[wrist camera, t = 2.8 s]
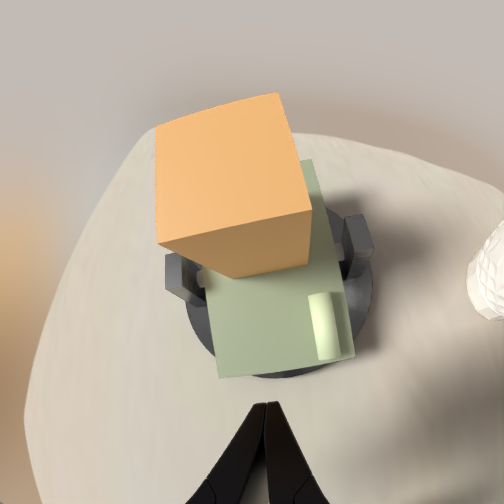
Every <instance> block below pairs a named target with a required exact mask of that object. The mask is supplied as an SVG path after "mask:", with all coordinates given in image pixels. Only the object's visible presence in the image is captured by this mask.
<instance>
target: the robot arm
mask: <svg viewBox="0 0 504 504" xmlns="http://www.w3.org/2000/svg"><path fill="white" fill-rule="evenodd" d="M206 478H207V479H205V480H204V481H203V483H202V484H201V485H200V487H199V488H198V489H197V491H196V492H195V493H194V494H193V496H192V497H191V498H190V499H189V500H188V501H187V502H186V503H185V504H268V503H269V504H330V503H329V502H328V500H327V499H326V497H325V496H324V495H323V493H322V491H321V489H320V487H319V486H318V484H317V482H316V480H315V478H314V476H313V475H312V472H311V470H310V468H309V466H308V464H307V462H306V460H305V457H304V455H303V453H302V451H301V449H300V447H299V445H298V443H297V441H296V438H295V436H294V434H293V432H292V430H291V428H290V426H289V423H288V421H287V419H286V417H285V415H284V412H283V410H282V408H281V406H280V404H279V402H278V401H274V402H268V403H267V404H266V403H256V404H254V405H253V407H252V408H251V410H250V412H249V413H248V415H247V416H246V418H245V420H244V421H243V423H242V425H241V426H240V428H239V429H238V431H237V433H236V434H235V436H234V437H233V439H232V440H231V442H230V443H229V445H228V446H227V448H226V449H225V451H224V452H223V454H222V455H221V457H220V458H219V460H218V461H217V463H216V464H215V466H214V467H213V469H212V470H211V472H210V473H209V474H208V476H207V477H206ZM0 504H3V503H1V502H0Z"/></svg>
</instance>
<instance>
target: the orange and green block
mask: <svg viewBox="0 0 504 504" xmlns="http://www.w3.org/2000/svg"><path fill="white" fill-rule="evenodd" d="M155 208H156V231H157V244H159V245H161V246H163V247H165V248H167V249H169V250H171V251H173V252H175V253H177V254H180V255H182V256H184V257H186V258H188V259H190V260H192V261H194V262H196V263H199V264H201V265H202V270H201V271H198V272H197V282H198V285H199V287H200V288H203V287H205V292H206V300H207V307H208V313H209V320H210V327H211V333H212V339H213V345H214V351H215V357H216V363H217V369H218V374H219V378H228V377H239V376H249V375H257V374H265V373H273V372H280V371H286V370H293V369H299V368H305V367H310V366H316V365H321V364H326V363H331V362H335V361H340V360H344V359H349V358H353V357H355V351H354V344H353V338H352V331H351V325H350V319H349V313H348V308H347V302H346V297H345V292H344V286H343V281H342V277H341V272H340V267H339V262H338V261H343V260H344V251H343V247H342V244H341V243H337V244H334V240H333V236H332V232H331V228H330V224H329V220H328V216H327V212H326V208H325V205H324V201H323V197H322V194H321V190H320V186H319V183H318V179H317V176H316V173H315V169H314V166H313V163H312V159H309V160H303V161H299V158H298V154H297V151H296V148H295V144H294V141H293V138H292V134H291V131H290V128H289V125H288V121H287V118H286V115H285V112H284V109H283V106H282V103H281V100H280V97H279V94H278V92H275V93H270V94H265V95H261V96H257V97H252V98H248V99H243V100H239V101H235V102H231V103H227V104H224V105H220V106H217V107H213V108H210V109H207V110H203V111H200V112H196V113H193V114H190V115H187V116H184V117H181V118H178V119H175V120H172V121H170V122H167V123H164V124H161V125H159V126H156V136H155Z"/></svg>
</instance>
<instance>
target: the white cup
mask: <svg viewBox="0 0 504 504" xmlns="http://www.w3.org/2000/svg"><path fill="white" fill-rule="evenodd" d="M466 284H467V289H468V295H469V298H470V300H471V302H472V304H473V306H474V307H475V309H476V311H477V312H478V313H479V314H481V315H482V316H483V317H485V318H486V319H487V320H502V319H504V219H503V221H502V222H501V223H500V224H499V226H498V227H497V228H496V229H495V231H494V232H493V233H492V235H491V236H490V237H489V238H488V239H487V240H486V242H485V243H484V245H483V246H482V247H481V248H480V249H479V250H478V252H477V253H476V254H475V255H474V257H473V258H472V260H471V262H470V263H469V265H468V269H467V277H466Z"/></svg>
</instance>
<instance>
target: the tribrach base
mask: <svg viewBox="0 0 504 504" xmlns="http://www.w3.org/2000/svg"><path fill="white" fill-rule="evenodd" d="M326 212H327V216H328V220H329V224H330V228H331V232H332V236H333V240H334V244H337V243H341V244H342V247H343V251H344V260H343V261H338V262H339V267H340V272H341V277H342V281H343V286H344V292H345V297H346V302H347V308H348V313H349V319H350V325H351V331H352V338H353V339H354V338H355V336H356V335H357V334H358V332H359V330H360V328H361V327H362V325H363V323H364V321H365V318H366V316H367V313H368V310H369V306H370V302H371V297H372V271H371V266H370V262H369V259H370V257H371V254H372V252H373V250H374V246H373V243H372V240H371V237H370V234H369V231H368V228H367V225H366V222H365V219H364V217H363V214H359V215H354V216H349V217H345V218H344V220H343V219H342V218H341V217H339V216H338V215H337V214H335V213H334V212H332V211H331V210H329V209H327V208H326ZM201 270H202V265H201V264H199V263H196V262H194V261H192V260H190V259H188V258H186V257H184V256H182V255H180V254H177V253H171V254H167V255H165V289H166V290H168V291H170V292H171V293H173V294H175V295H176V296H178V297H180V298H181V299H183V300H185V302H186V309H187V313H188V317H189V320H190V322H191V325H192V327H193V329H194V331H195V333H196V335H197V336H198V338H199V340H200V341H201V342H202V344H203V345H204V346H205V347H206V349H207V350H208V351H209V352H210V353H211V354H212V355H214V356H215V351H214V345H213V339H212V333H211V327H210V320H209V313H208V307H207V300H206V292H205V287H203V288H200V287H199V285H198V282H197V272H198V271H201ZM326 364H327V363H326ZM323 365H325V364H321V365H316V366H310V367H305V368H299V369H293V370H286V371H280V372H273V373H265V374H257V375H252V376H257V377H262V378H287V377H293V376H298V375H302V374H305V373H308V372H311V371H313V370H316V369H318V368H320V367H321V366H323Z"/></svg>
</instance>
